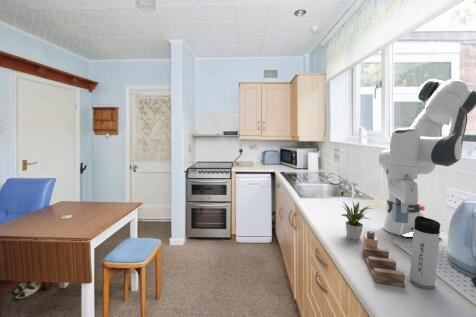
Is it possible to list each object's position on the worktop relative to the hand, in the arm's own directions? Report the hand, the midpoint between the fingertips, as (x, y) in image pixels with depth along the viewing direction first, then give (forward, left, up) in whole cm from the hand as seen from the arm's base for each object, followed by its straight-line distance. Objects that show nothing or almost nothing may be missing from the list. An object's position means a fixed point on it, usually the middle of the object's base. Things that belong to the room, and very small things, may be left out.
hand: (400, 210), depth 93 cm
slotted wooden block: (+8, +12, -18) cm, 23 cm away
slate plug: (0, 0, -4) cm, 4 cm away
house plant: (+12, -14, -18) cm, 26 cm away
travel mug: (-2, +17, -18) cm, 25 cm away
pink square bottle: (+9, -1, -18) cm, 20 cm away
